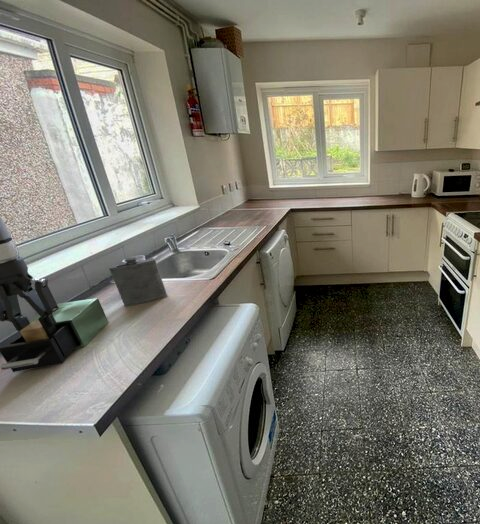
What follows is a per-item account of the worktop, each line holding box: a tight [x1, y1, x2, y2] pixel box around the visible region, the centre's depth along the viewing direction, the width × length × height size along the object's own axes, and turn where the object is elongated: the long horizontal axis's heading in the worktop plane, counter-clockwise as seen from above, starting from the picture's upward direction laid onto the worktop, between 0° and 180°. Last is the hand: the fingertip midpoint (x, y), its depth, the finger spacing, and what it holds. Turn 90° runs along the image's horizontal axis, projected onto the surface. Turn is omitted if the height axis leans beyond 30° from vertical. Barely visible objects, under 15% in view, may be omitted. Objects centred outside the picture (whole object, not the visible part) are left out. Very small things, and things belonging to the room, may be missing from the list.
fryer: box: [29, 297, 109, 350], centre depth 89 cm, size 14×13×10 cm
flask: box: [108, 256, 168, 307], centre depth 108 cm, size 4×14×18 cm, turn 116°
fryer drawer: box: [0, 323, 80, 373], centre depth 80 cm, size 17×11×8 cm
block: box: [19, 321, 49, 342], centre depth 79 cm, size 4×4×4 cm
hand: (43, 337), depth 80 cm, fingers closed on block, 4 cm apart
